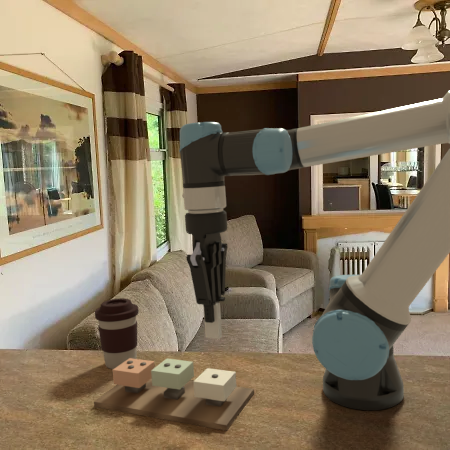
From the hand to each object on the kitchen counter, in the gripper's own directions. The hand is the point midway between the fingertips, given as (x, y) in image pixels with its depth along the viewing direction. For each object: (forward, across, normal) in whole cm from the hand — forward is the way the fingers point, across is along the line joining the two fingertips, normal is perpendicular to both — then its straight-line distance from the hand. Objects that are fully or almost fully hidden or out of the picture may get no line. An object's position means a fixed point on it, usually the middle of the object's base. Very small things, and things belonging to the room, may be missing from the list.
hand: (213, 337), depth 90 cm
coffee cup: (+14, -12, -30) cm, 35 cm away
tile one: (+11, 0, 0) cm, 11 cm away
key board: (+14, 0, -9) cm, 17 cm away
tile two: (+10, 0, -9) cm, 13 cm away
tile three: (+11, 0, -18) cm, 21 cm away
